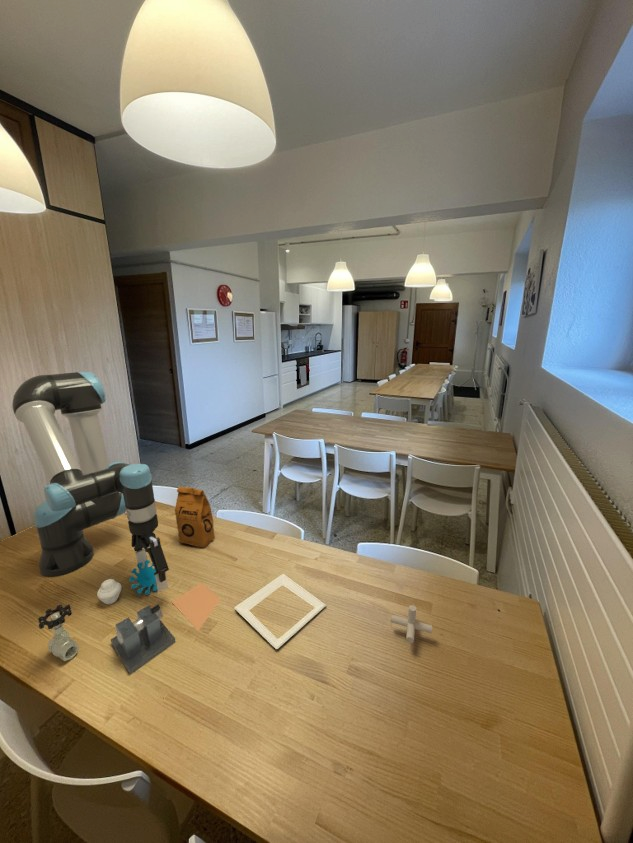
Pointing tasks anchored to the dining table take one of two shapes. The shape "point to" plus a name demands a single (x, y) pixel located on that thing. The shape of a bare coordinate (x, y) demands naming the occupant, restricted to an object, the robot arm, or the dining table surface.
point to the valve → (59, 633)
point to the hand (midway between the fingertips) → (152, 578)
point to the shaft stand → (141, 638)
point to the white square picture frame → (267, 590)
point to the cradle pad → (197, 604)
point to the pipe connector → (411, 624)
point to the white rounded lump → (109, 591)
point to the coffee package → (194, 517)
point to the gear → (144, 578)
